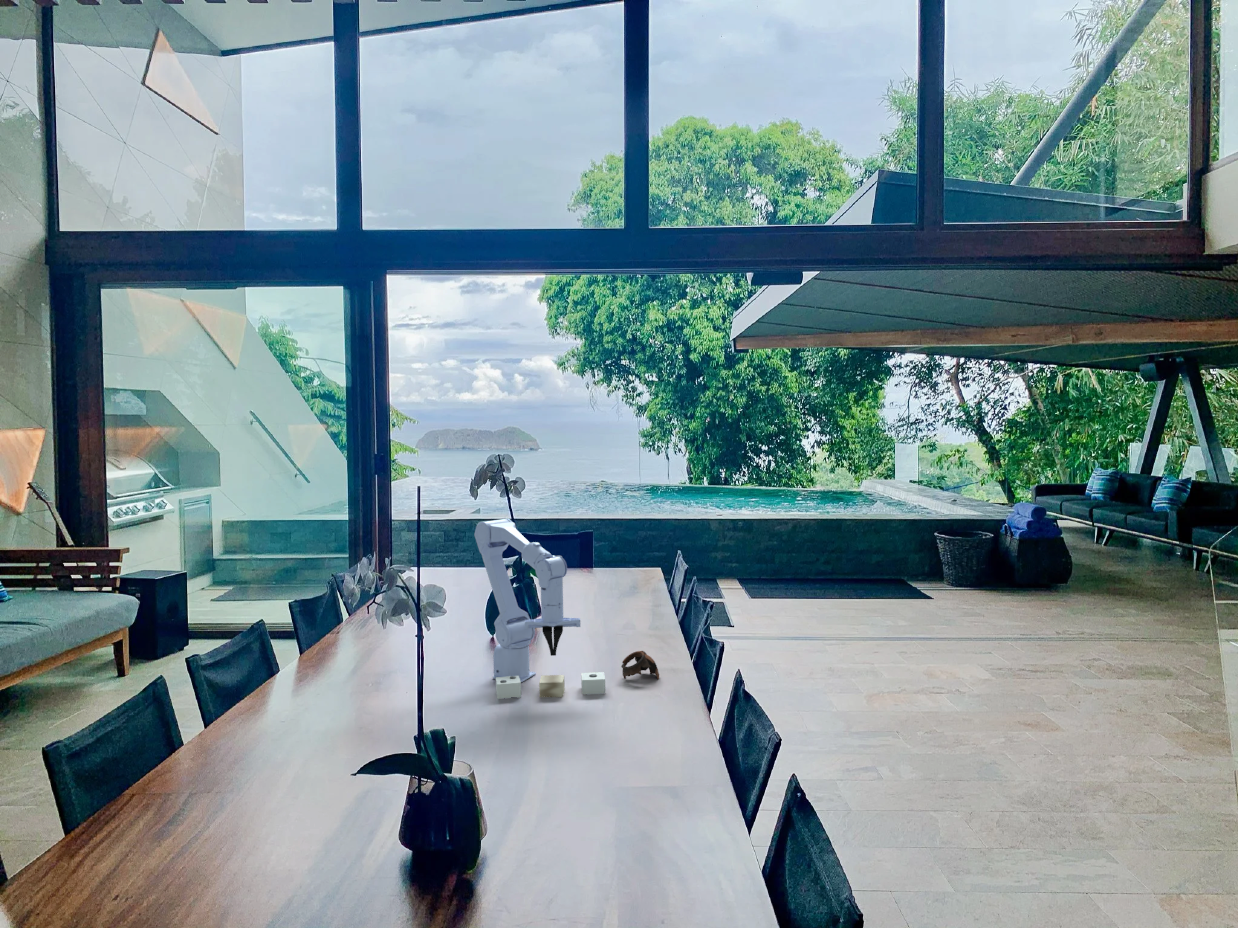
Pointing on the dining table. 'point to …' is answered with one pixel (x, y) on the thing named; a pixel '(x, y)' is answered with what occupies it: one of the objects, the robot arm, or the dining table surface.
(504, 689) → the two-dot block
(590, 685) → the one-dot block
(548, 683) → the maple block
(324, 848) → the dining table surface
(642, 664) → the rusty brown arched frame
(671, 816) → the dining table surface
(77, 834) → the dining table surface
